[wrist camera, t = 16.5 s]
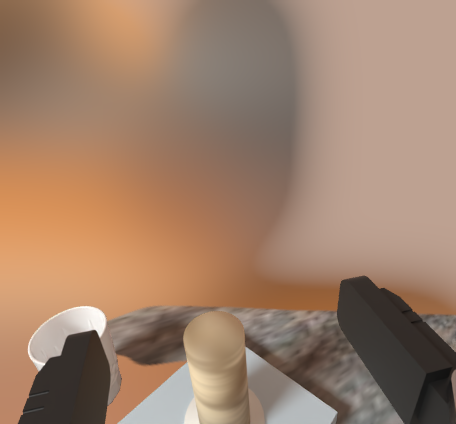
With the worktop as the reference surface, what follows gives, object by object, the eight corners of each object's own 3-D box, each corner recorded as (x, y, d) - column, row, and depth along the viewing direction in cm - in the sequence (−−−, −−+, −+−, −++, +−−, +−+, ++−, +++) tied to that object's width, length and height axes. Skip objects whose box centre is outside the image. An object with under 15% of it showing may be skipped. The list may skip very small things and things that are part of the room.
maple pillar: (224, 385, 34) (214, 302, 29) (260, 416, 31) (256, 330, 26) (189, 422, 31) (170, 336, 26) (225, 460, 28) (213, 373, 23)
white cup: (98, 433, 34) (70, 373, 30) (43, 412, 37) (9, 354, 32) (138, 369, 41) (121, 312, 36) (89, 355, 43) (67, 300, 39)
